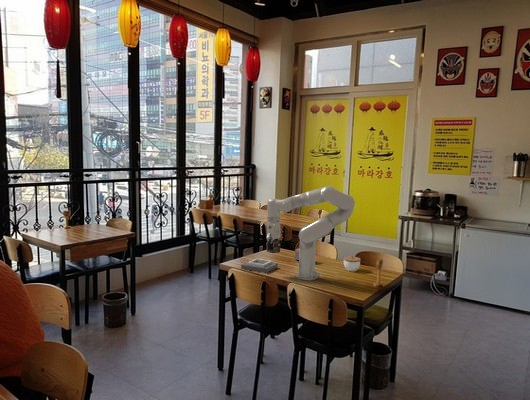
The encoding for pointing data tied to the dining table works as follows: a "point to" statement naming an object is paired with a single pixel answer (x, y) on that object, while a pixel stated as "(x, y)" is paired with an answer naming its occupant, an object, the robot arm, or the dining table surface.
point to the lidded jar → (351, 263)
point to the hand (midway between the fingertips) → (273, 248)
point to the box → (274, 246)
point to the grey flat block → (259, 265)
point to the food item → (297, 254)
